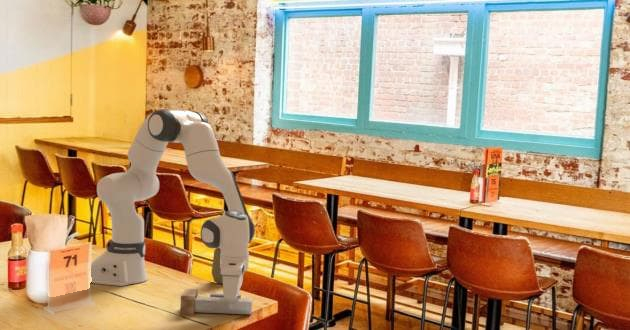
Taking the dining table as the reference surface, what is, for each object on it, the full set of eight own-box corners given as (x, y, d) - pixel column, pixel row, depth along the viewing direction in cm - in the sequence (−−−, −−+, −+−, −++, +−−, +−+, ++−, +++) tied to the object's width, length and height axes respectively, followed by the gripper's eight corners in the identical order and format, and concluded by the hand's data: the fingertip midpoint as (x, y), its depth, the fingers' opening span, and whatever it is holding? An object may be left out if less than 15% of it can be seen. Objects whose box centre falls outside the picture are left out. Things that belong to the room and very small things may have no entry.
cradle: (204, 305, 241) (204, 299, 241) (208, 298, 249) (208, 292, 249) (241, 307, 241) (241, 301, 241) (244, 300, 249) (244, 294, 249)
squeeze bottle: (229, 286, 265) (231, 236, 263) (208, 283, 267) (209, 234, 265) (236, 280, 273) (238, 232, 271) (215, 278, 275) (216, 230, 273)
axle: (193, 312, 233) (193, 299, 233) (195, 308, 237) (195, 296, 236) (251, 314, 233) (251, 302, 233) (252, 310, 237) (252, 298, 236)
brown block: (180, 314, 231) (180, 295, 231) (184, 306, 239) (185, 288, 238) (193, 315, 231) (193, 296, 231) (197, 307, 239) (197, 289, 238)
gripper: (228, 255, 244) (227, 296, 245) (220, 270, 223) (218, 315, 225) (247, 255, 244) (246, 296, 245) (240, 271, 223) (239, 316, 225)
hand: (233, 306), depth 235 cm, fingers closed on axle, 4 cm apart
